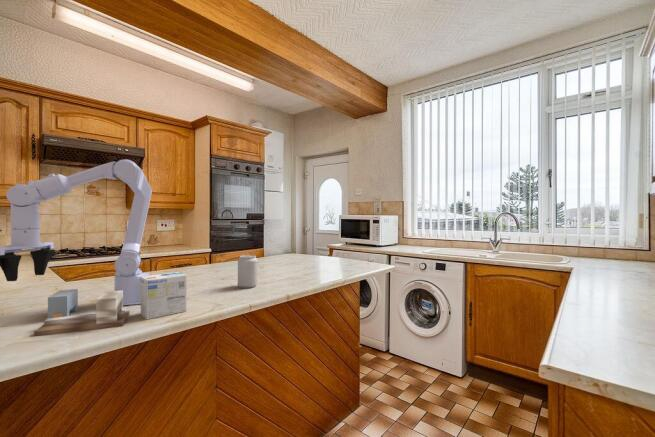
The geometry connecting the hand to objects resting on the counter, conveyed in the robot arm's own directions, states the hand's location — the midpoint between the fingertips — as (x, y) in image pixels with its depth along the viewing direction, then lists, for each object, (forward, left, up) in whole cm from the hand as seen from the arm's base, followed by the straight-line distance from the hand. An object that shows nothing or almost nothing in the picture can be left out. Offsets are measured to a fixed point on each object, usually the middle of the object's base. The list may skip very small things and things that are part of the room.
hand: (26, 277), depth 84 cm
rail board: (-18, +16, -10) cm, 26 cm away
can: (-62, -10, -10) cm, 63 cm away
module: (-10, +5, -10) cm, 15 cm away
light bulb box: (-35, +13, -10) cm, 38 cm away
